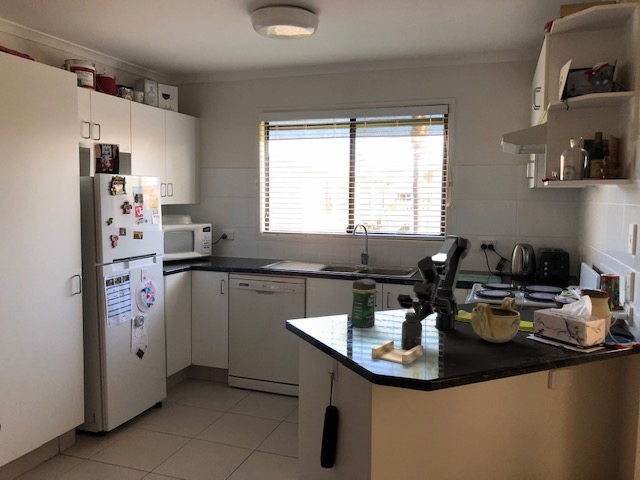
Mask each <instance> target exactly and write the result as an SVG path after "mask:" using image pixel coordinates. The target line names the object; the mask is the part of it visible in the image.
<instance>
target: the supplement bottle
mask: <svg viewBox="0 0 640 480" xmlns="http://www.w3.org/2000/svg"><path fill="white" fill-rule="evenodd" d="M404 316H405V317H404V320H403V321H402V325H401V336H400V337H401V338H400V340H401V341H400V343H401V344H400V347H401V348H402V349H403V350H408V351H409V350H411V349H413V348H414V347H416V346H418V345H422V339H423V324H422V321H421V322H420V321H419V320H420V314H418V313H415V312H413V311H412V312H411V311H410V312H405V315H404Z"/></svg>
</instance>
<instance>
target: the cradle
mask: <svg viewBox="0 0 640 480" xmlns="http://www.w3.org/2000/svg"><path fill="white" fill-rule="evenodd" d="M394 346H395V341H394V340H393V339H389V340H386V341H384V342H382V343H380V344H378V345H376V346H373V347H372V348H371V359H377V360H378V359H379V360H384V361H386V362H387V361H388V362H392V363H393V362H394V363H398V364H401V365H405V366H407V365H409V364H411V363H412V362H413V361H416V360H417V359H419V358H420V357H421V356H423V355H424V345H422V344H421V345H418V346H416V347H414V348H413V349H411V350H405V349H403V348H402V349H401V348H397V347H394Z"/></svg>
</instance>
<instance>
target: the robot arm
mask: <svg viewBox="0 0 640 480" xmlns="http://www.w3.org/2000/svg"><path fill="white" fill-rule="evenodd" d="M471 248H472V242H471V241H470V240H469V239H468V238H467V237H465V238H464V237H461V236H459V235H446V238H445V241H444V243H443V244H442V247H441V248H440V249H439V251H438V253H437V254H436V255H432V256H431V255H426V256H425V258H422V259H420V260H419V261H418V262H417V268H418V270H419V273H420V276H421V278H422V279H423V282H414V285H413V289H412V292H414V294H415V296H414V297H413V298H412V297H411V295H410V294H408V293H399V294H398V295H397V298H396V300H397V302H398V304H399V307H400V308H401V309H407V310H410V309H412V308H413V311H414V313H418V314H420V320H419V321H420V322H421V323H422V322H423V321H424V320H425V319H426V318H428V317H429V316H431V315H434V314H436V317H435V325H434V328H435V329H438V330H440V331H442V332H443V331H456V330H457V329H458V328H457V327H456V325H455V324H456V321H455V315H458V313H459V311H460V307H459V304H458V301H457V296H456V293H455V290H456V287H457V282H458V278H459V273H460V270H461V266H462V262H463V260H464V259H465V258H466V257H467V256H468V255H469V253H470V250H471ZM441 276H444V280H443V284H442V277H441ZM440 287H441V288H440Z"/></svg>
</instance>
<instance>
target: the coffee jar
mask: <svg viewBox="0 0 640 480" xmlns="http://www.w3.org/2000/svg"><path fill="white" fill-rule="evenodd" d="M351 290H352V308H351V309H352V310H351V317H350V319H351V320H350V324H351V325H352V326H353V327H356V328H369V327H371V326H374V325H375V324H376V320H375V319H376V317H375V316H376V314H375V309H376V308H375V297H376V291H377V281H375V280H374V279H370V278H364V279H363V278H362V279H358V280H357V279H356V280H354V281H353V282H352V289H351Z"/></svg>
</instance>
